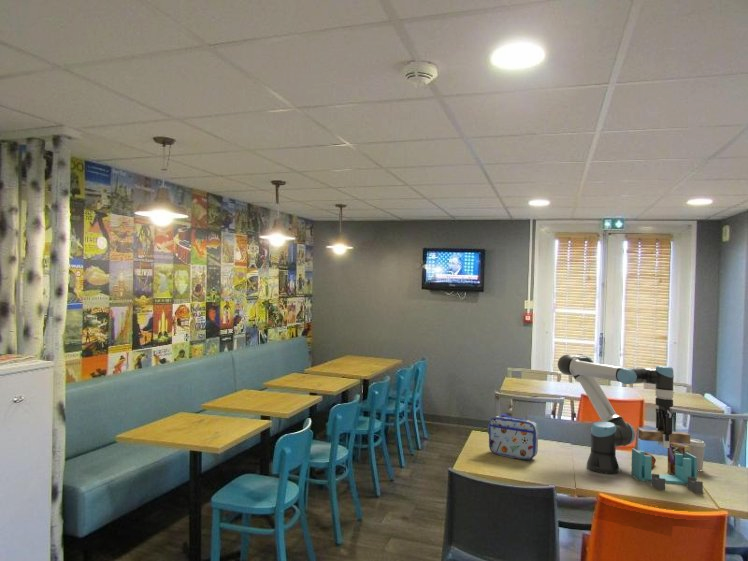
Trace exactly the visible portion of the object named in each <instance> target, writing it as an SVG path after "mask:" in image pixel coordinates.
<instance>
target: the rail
mask: <svg viewBox="0 0 748 561" xmlns="http://www.w3.org/2000/svg"><path fill="white" fill-rule="evenodd" d="M663 433H664V431H659V430H658V429H656V430H655V429H654V430H653V429H644V428H638V433H637V435H638V436H637V438H638V439H640V440H641V441H646V442H647V441H648V442H649V441H650V442H657V443H658V442H663ZM690 439H691V434H690V433H687V432H685V431H672V434H670V442H671V443H678V444H683V445H686V444H690Z"/></svg>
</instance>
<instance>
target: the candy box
mask: <svg viewBox="0 0 748 561" xmlns="http://www.w3.org/2000/svg"><path fill="white" fill-rule="evenodd" d="M685 452H687V453H689V446H686V444H683V443H671V442H669V448H667V473H668V474H672V475H675V453H676V454H683V458H685Z"/></svg>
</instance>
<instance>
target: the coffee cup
mask: <svg viewBox="0 0 748 561" xmlns="http://www.w3.org/2000/svg"><path fill="white" fill-rule="evenodd" d="M685 445H686V446H689V454H691V455H693V456H695V457H697V470H699V471H698V472H701V471H700V470H702V471H703V470H704V469H703V468H704V458H705V457H704V456H705V450H706V449H705V448H706V447H707V446H706V443H705V442H704V441H703V440H701V439H696V438H690V444H685Z"/></svg>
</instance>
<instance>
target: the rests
mask: <svg viewBox="0 0 748 561" xmlns="http://www.w3.org/2000/svg"><path fill="white" fill-rule="evenodd" d="M651 474H652V482H651V486H652V487H653V488H655V489H656V490H657V491H661V492H666V483H665V479H664V478H659V474H660V473H657V474H656V473H651ZM703 485H704V483H703V481H700V480H697V481H696V478H695V477H688V485H687V489H688V490H690V491H691V492H693V493H695V494H700V495H702V494H703V493H704V492H703V490H704V489H703V487H704V486H703Z"/></svg>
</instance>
